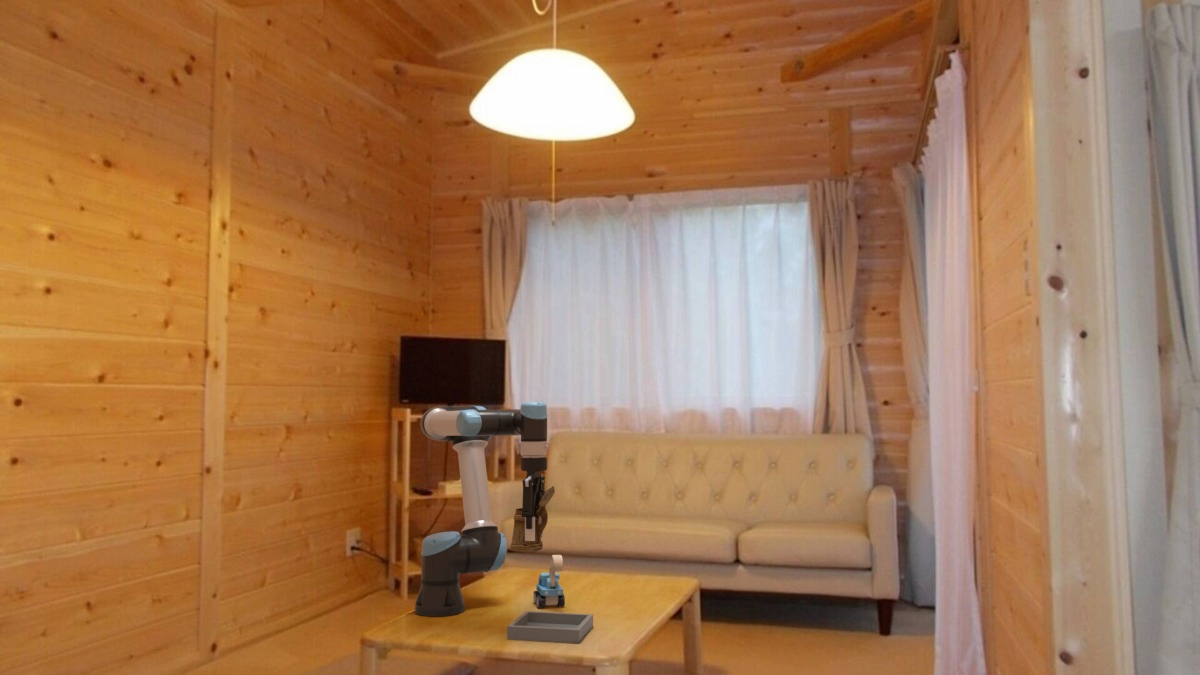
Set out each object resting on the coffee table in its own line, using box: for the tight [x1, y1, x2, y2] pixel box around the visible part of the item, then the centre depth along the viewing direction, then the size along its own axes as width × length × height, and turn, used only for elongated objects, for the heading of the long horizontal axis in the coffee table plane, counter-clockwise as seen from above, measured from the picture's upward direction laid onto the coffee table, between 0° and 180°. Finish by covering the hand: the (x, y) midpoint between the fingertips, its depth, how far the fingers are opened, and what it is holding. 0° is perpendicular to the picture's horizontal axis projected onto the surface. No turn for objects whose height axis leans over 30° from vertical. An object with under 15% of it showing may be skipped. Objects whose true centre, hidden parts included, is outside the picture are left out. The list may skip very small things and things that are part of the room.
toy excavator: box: [532, 554, 566, 609], centre depth 280 cm, size 9×17×17 cm, turn 15°
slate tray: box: [506, 610, 594, 645], centre depth 249 cm, size 20×18×4 cm
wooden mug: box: [509, 485, 556, 553], centre depth 251 cm, size 9×14×18 cm, turn 65°
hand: (534, 538), depth 251 cm, fingers closed on wooden mug, 7 cm apart
